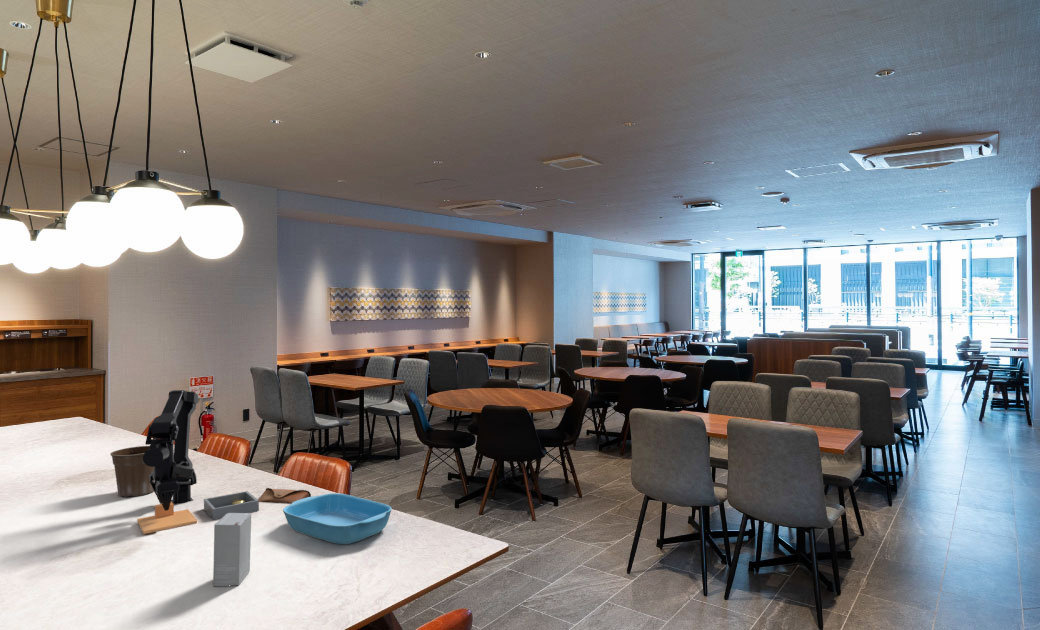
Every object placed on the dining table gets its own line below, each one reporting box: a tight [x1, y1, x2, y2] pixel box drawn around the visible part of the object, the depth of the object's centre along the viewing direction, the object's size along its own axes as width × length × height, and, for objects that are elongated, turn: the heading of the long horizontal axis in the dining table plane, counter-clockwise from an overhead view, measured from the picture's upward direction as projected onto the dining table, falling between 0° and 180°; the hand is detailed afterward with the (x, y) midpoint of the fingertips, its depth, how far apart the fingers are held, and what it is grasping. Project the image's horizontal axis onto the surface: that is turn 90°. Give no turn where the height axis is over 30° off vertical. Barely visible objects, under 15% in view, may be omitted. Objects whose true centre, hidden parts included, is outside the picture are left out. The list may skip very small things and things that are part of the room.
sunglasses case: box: [257, 487, 312, 505], centre depth 216 cm, size 18×7×7 cm
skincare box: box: [212, 512, 252, 587], centre depth 152 cm, size 8×7×16 cm
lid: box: [136, 502, 198, 535], centre depth 193 cm, size 15×15×5 cm
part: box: [232, 499, 245, 505], centre depth 209 cm, size 4×4×2 cm
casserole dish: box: [282, 492, 393, 545], centre depth 187 cm, size 37×22×7 cm, turn 55°
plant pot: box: [110, 445, 155, 498], centre depth 227 cm, size 16×16×16 cm
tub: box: [203, 490, 260, 521], centre depth 205 cm, size 14×14×4 cm
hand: (164, 506), depth 197 cm, fingers open, 9 cm apart
